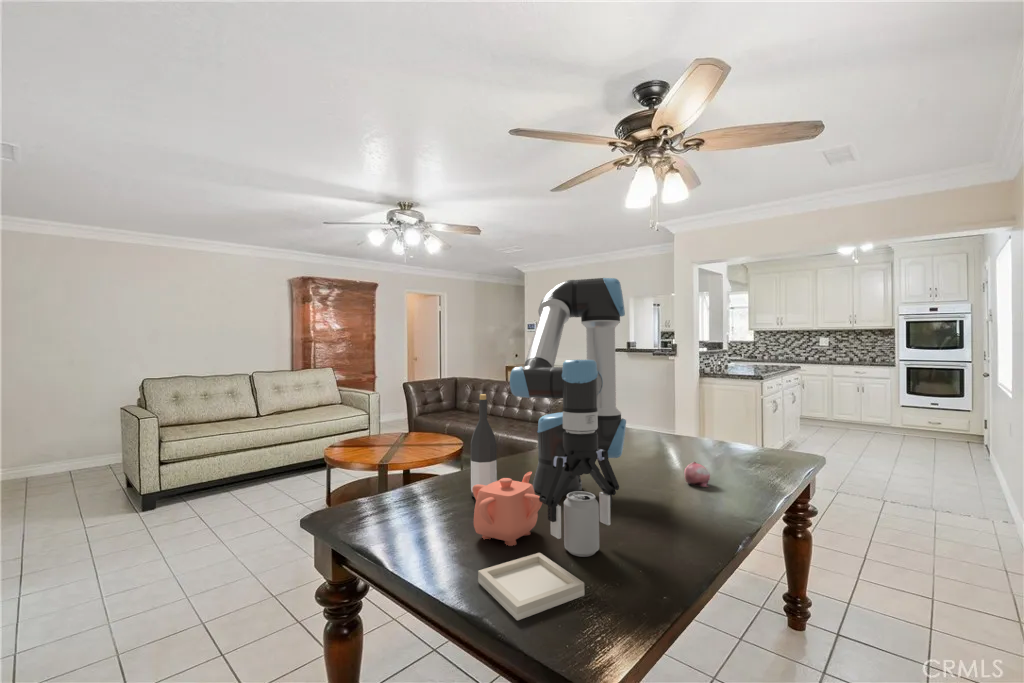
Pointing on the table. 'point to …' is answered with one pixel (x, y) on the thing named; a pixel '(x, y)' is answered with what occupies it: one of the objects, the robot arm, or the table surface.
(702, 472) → the pomegranate
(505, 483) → the pink kettle
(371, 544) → the table surface
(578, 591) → the coaster
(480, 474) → the wine bottle
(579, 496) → the can
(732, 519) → the table surface
